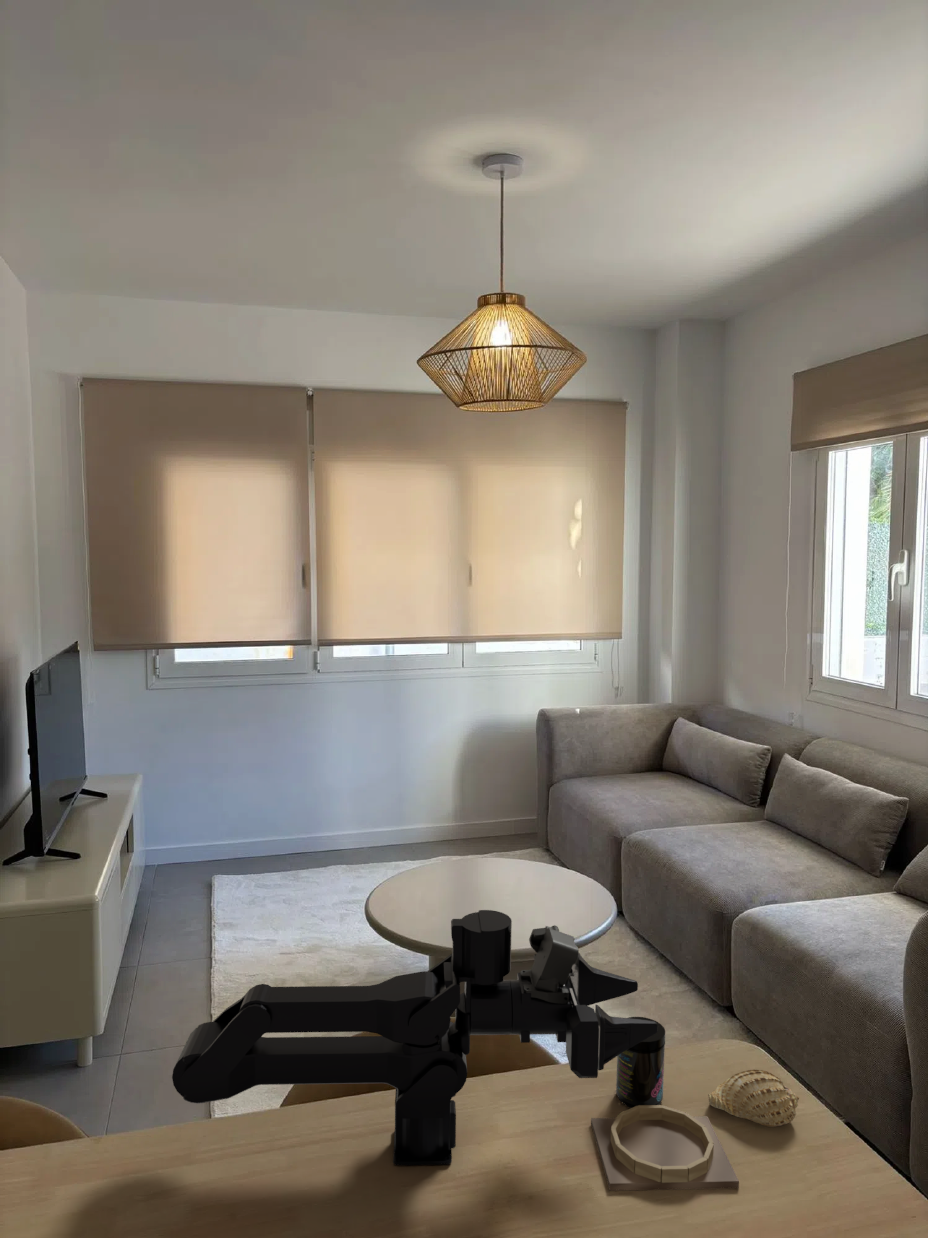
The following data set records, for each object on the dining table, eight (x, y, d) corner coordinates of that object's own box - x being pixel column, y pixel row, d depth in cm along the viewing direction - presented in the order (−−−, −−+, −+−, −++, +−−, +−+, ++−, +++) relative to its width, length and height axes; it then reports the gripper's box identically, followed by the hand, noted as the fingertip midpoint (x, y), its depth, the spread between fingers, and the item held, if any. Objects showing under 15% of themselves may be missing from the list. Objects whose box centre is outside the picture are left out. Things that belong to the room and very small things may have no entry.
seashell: (736, 1160, 107) (813, 1123, 107) (716, 1116, 106) (794, 1080, 106) (714, 1118, 114) (786, 1084, 114) (696, 1077, 114) (768, 1043, 114)
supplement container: (649, 1119, 109) (651, 1047, 108) (606, 1100, 113) (608, 1030, 112) (671, 1096, 114) (673, 1027, 113) (629, 1078, 117) (631, 1011, 117)
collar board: (609, 1190, 97) (610, 1170, 97) (590, 1124, 108) (591, 1106, 108) (738, 1188, 98) (739, 1168, 97) (707, 1122, 109) (707, 1104, 108)
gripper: (520, 978, 93) (671, 977, 93) (504, 904, 111) (630, 904, 112) (518, 1082, 94) (667, 1080, 94) (502, 992, 112) (627, 991, 113)
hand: (646, 1005), depth 103 cm, fingers open, 9 cm apart
